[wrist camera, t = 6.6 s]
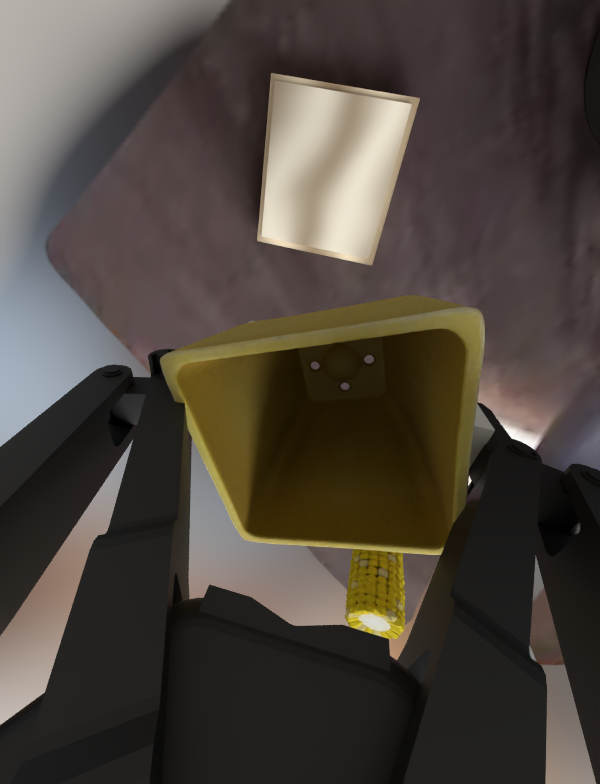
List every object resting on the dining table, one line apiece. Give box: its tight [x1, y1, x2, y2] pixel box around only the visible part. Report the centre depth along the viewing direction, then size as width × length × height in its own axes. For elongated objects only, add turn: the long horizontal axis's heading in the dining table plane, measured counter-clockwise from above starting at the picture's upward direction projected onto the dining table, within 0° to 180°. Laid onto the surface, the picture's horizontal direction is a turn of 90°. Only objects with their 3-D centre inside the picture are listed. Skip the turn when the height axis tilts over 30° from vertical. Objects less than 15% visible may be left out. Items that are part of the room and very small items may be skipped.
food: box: [345, 549, 405, 639], centre depth 49 cm, size 15×12×10 cm
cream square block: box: [257, 73, 420, 265], centre depth 26 cm, size 12×12×4 cm
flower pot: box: [160, 295, 485, 555], centre depth 13 cm, size 9×9×9 cm
